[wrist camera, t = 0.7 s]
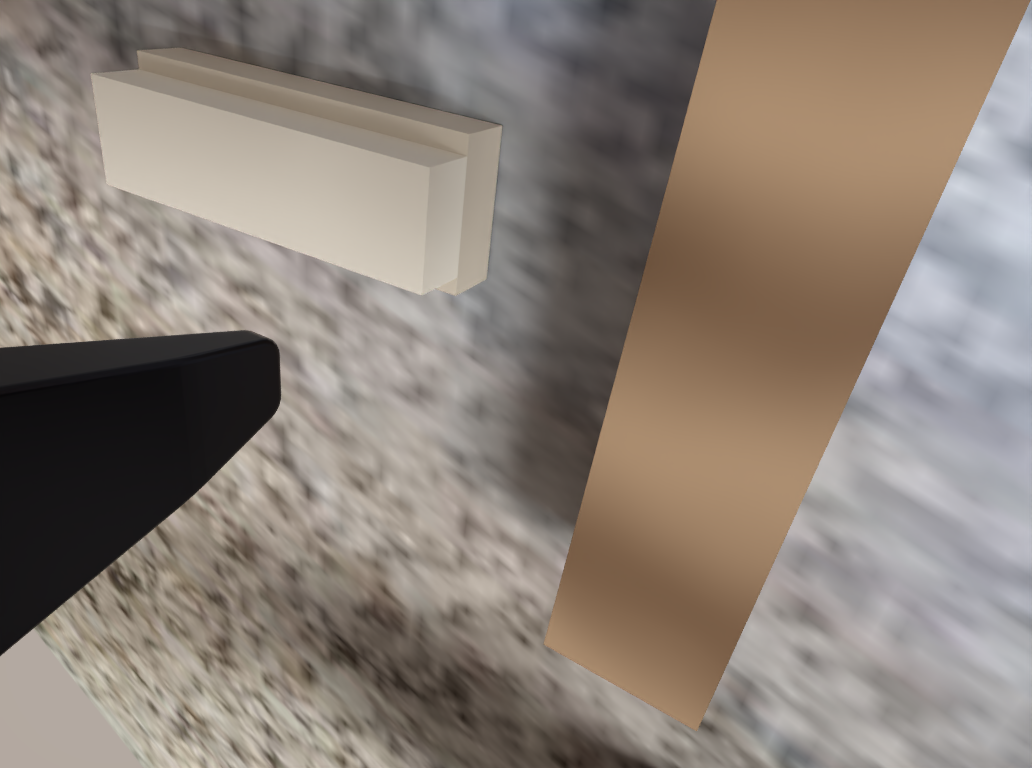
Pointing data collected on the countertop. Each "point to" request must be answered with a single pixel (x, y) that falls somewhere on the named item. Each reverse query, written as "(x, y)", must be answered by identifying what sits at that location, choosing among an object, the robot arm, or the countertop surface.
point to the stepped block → (306, 165)
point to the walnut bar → (760, 314)
